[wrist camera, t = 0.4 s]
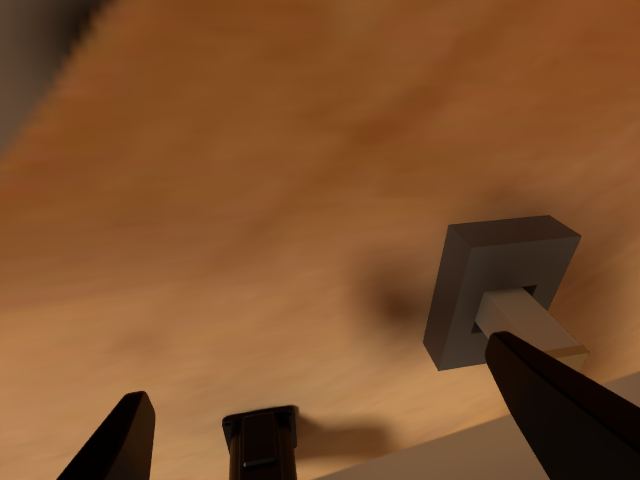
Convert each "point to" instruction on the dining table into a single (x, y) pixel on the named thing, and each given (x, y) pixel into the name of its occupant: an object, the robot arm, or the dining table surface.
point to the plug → (529, 324)
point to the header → (491, 279)
